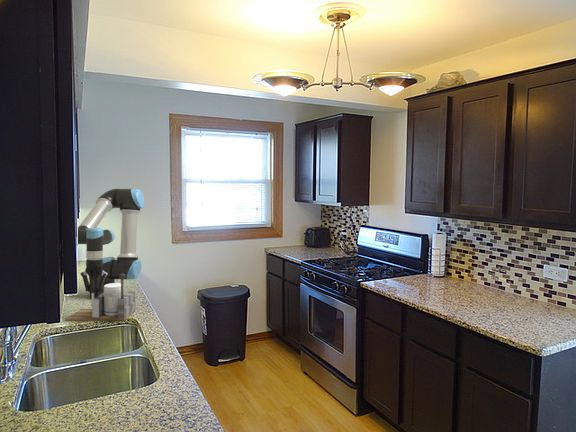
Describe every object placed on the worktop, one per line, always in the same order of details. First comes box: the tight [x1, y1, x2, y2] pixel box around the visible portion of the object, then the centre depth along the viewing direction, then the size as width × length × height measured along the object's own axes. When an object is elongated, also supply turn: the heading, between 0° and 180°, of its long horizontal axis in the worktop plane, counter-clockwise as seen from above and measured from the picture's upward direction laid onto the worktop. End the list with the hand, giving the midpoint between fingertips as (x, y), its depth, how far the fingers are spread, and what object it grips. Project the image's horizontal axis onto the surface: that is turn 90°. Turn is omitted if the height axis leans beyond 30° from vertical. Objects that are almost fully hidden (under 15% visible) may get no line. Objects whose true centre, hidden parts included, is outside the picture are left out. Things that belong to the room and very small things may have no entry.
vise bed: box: [65, 273, 136, 322], centre depth 207 cm, size 16×28×23 cm, turn 92°
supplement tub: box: [104, 282, 121, 316], centre depth 207 cm, size 10×10×15 cm
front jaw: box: [91, 292, 104, 317], centre depth 207 cm, size 15×3×9 cm, turn 2°
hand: (93, 305), depth 207 cm, fingers closed
